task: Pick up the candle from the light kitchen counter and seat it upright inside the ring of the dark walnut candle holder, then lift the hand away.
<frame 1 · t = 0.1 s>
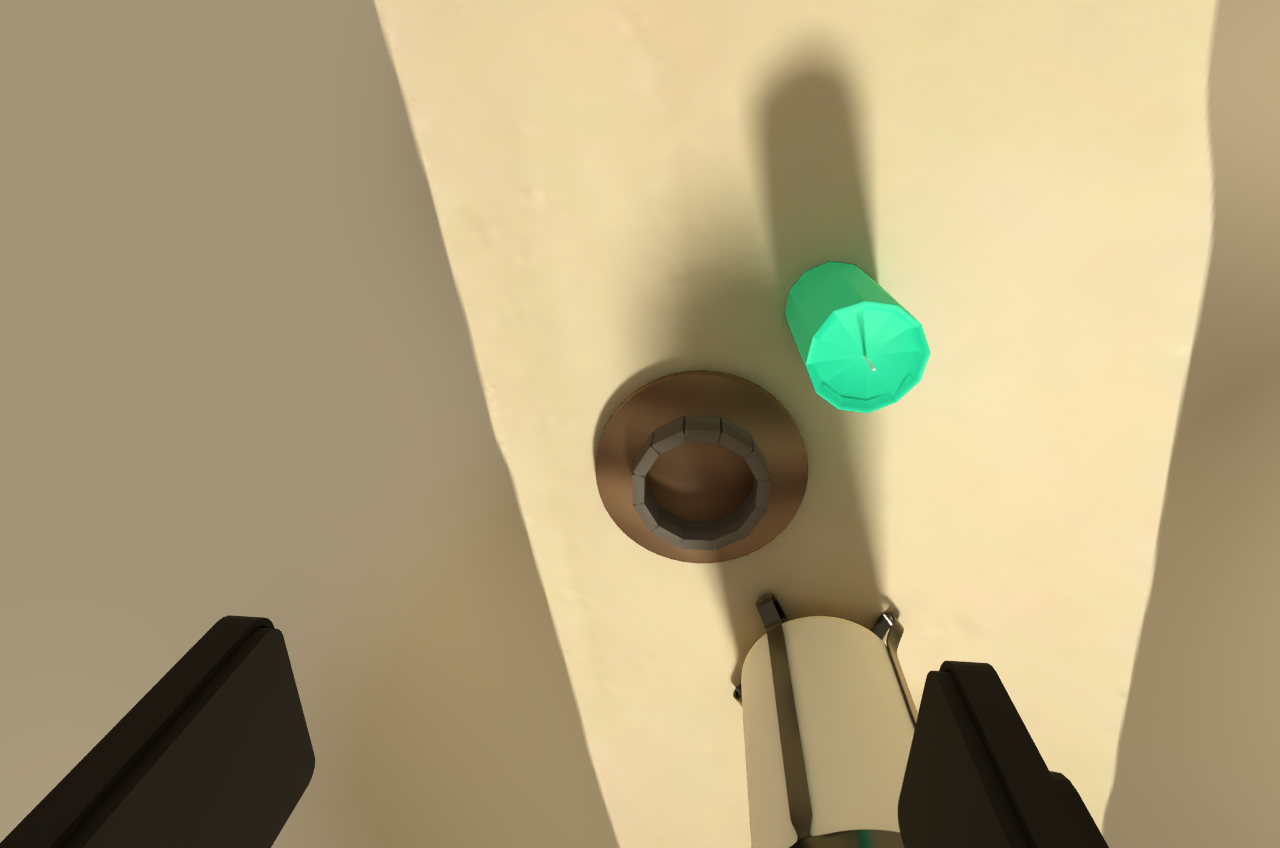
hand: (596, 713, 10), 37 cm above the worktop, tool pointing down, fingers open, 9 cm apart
candle holder: (700, 468, 49), on the worktop
candle: (831, 307, 44), on the worktop
coffee press: (814, 666, 56), on the worktop
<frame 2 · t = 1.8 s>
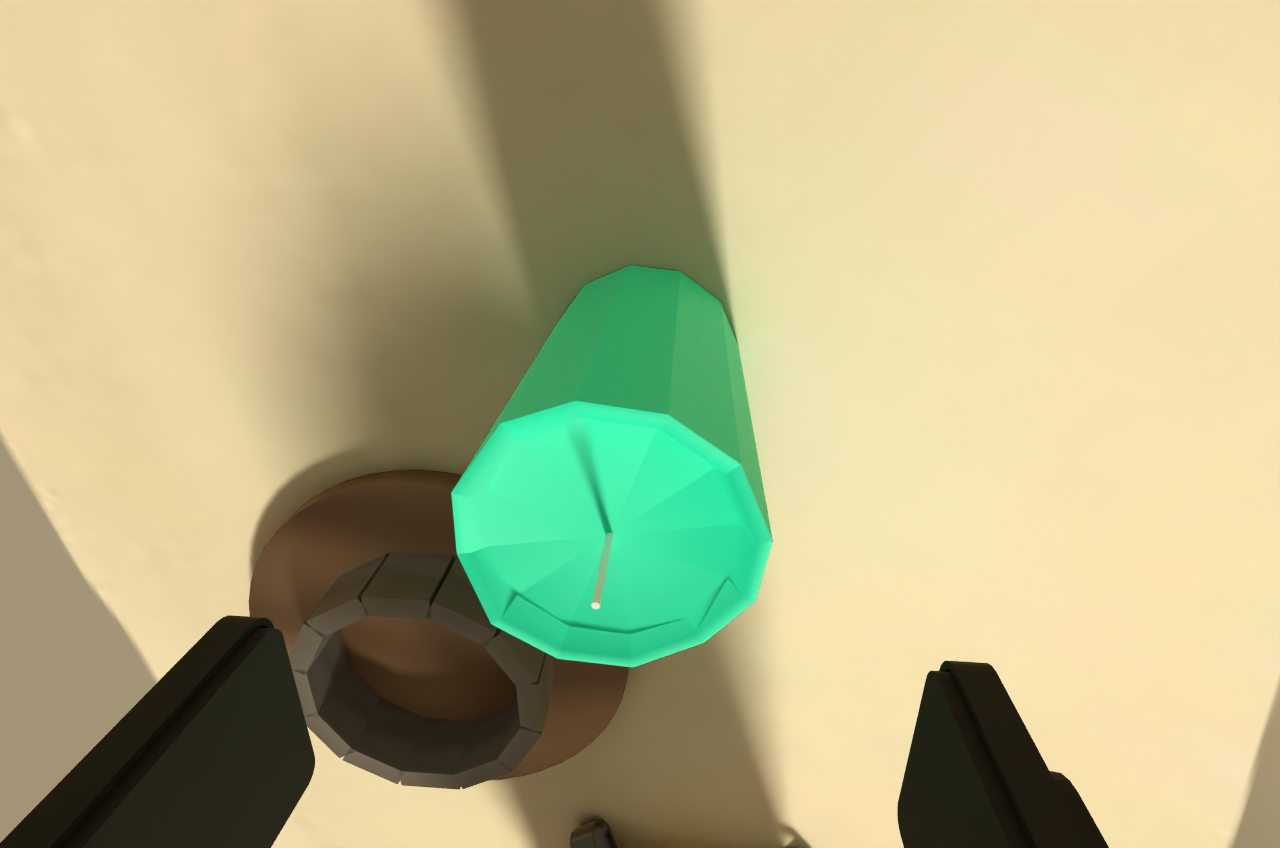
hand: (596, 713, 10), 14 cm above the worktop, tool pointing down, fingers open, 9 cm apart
candle holder: (446, 632, 28), on the worktop
candle: (645, 355, 22), on the worktop
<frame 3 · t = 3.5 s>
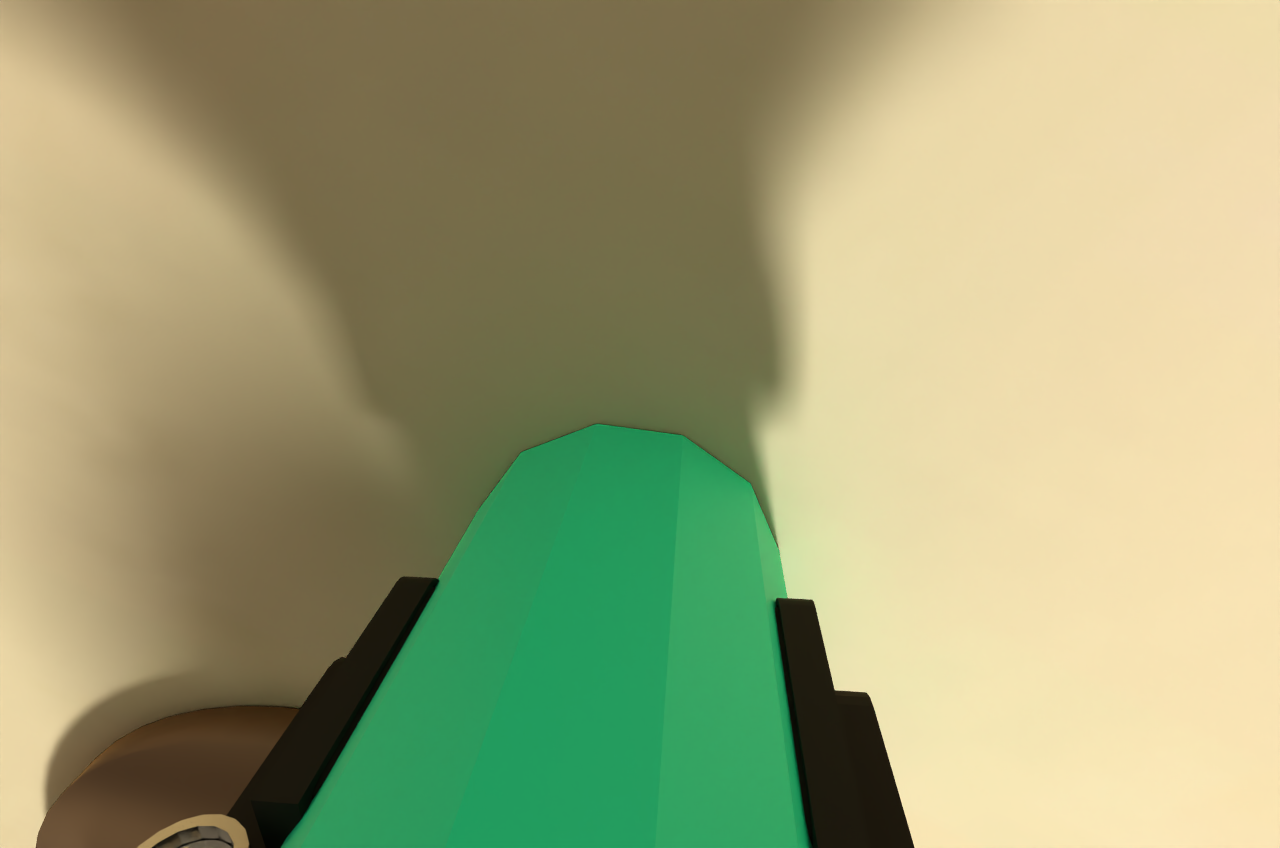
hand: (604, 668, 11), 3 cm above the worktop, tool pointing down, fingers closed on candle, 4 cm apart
candle: (624, 557, 13), on the worktop, touching gripper
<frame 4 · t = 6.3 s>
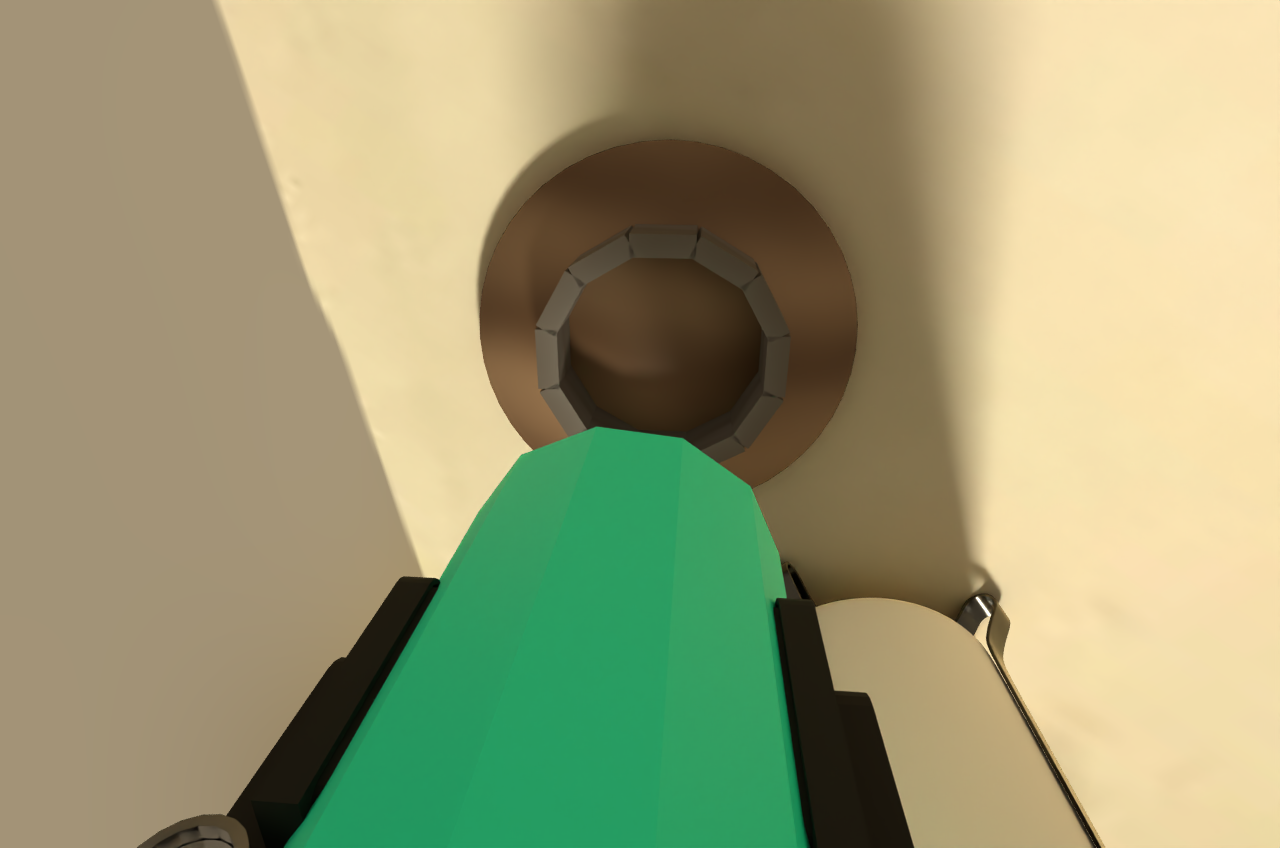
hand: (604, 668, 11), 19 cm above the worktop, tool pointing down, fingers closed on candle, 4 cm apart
candle holder: (665, 336, 28), on the worktop
candle: (624, 559, 13), point 16 cm above the worktop, touching gripper
coffee press: (854, 682, 35), on the worktop
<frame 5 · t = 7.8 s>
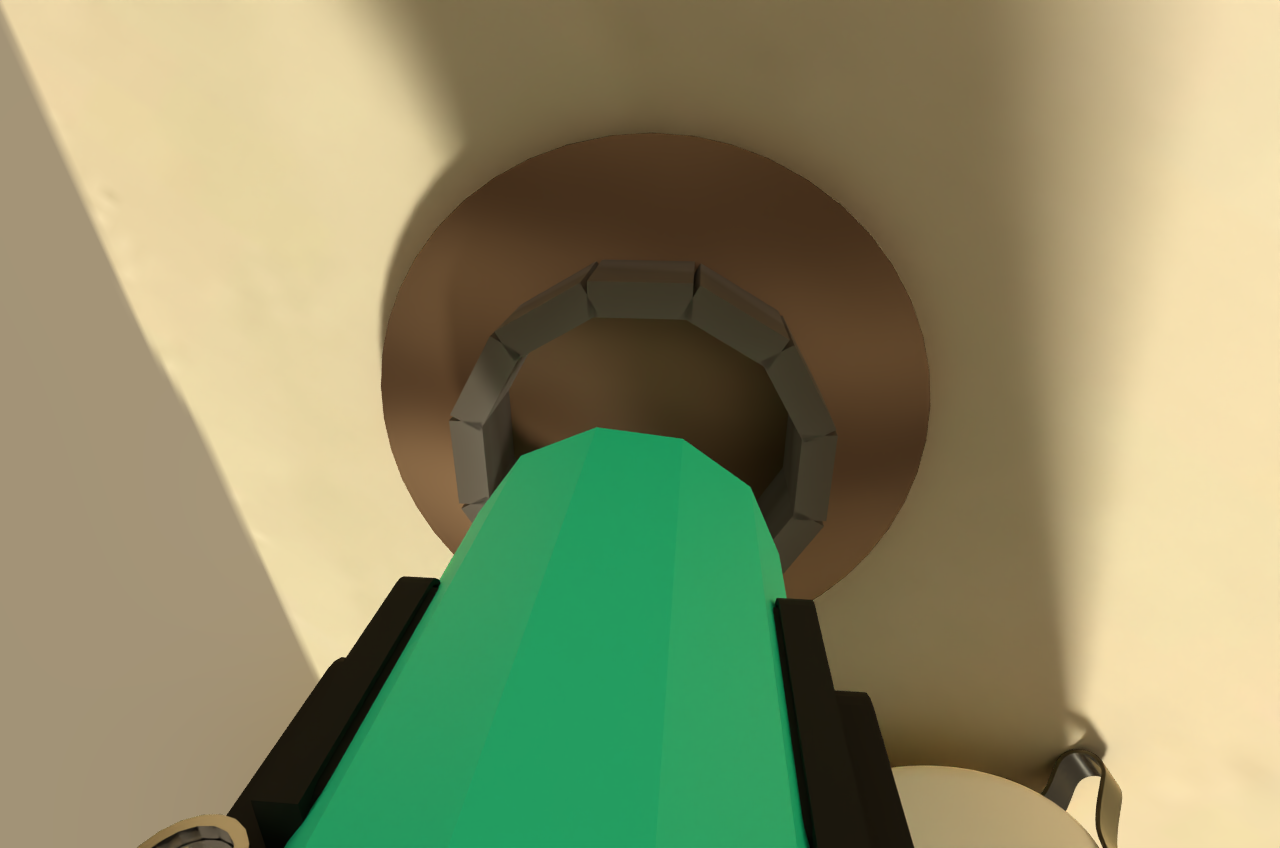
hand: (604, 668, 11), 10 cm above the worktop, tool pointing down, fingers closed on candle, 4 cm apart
candle holder: (649, 414, 20), on the worktop
candle: (624, 560, 13), point 7 cm above the worktop, touching gripper
coffee press: (901, 846, 26), on the worktop
when the fingers open (5 cm above the worktop, at t = 9.1 s): candle drops 1 cm, resting on candle holder.
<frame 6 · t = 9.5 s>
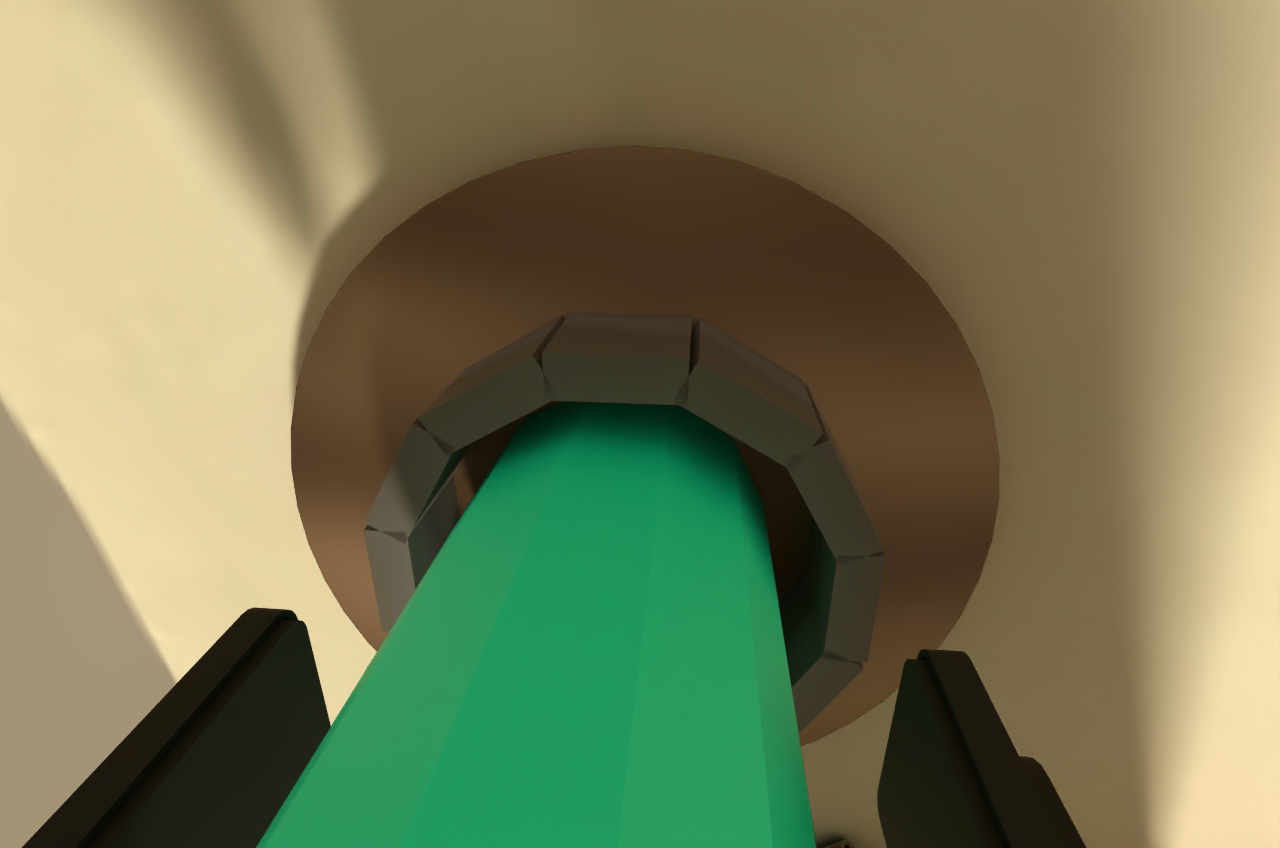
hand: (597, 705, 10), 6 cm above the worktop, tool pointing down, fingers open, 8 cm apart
candle holder: (635, 500, 16), on the worktop
candle: (623, 513, 15), point 1 cm above the worktop, touching candle holder
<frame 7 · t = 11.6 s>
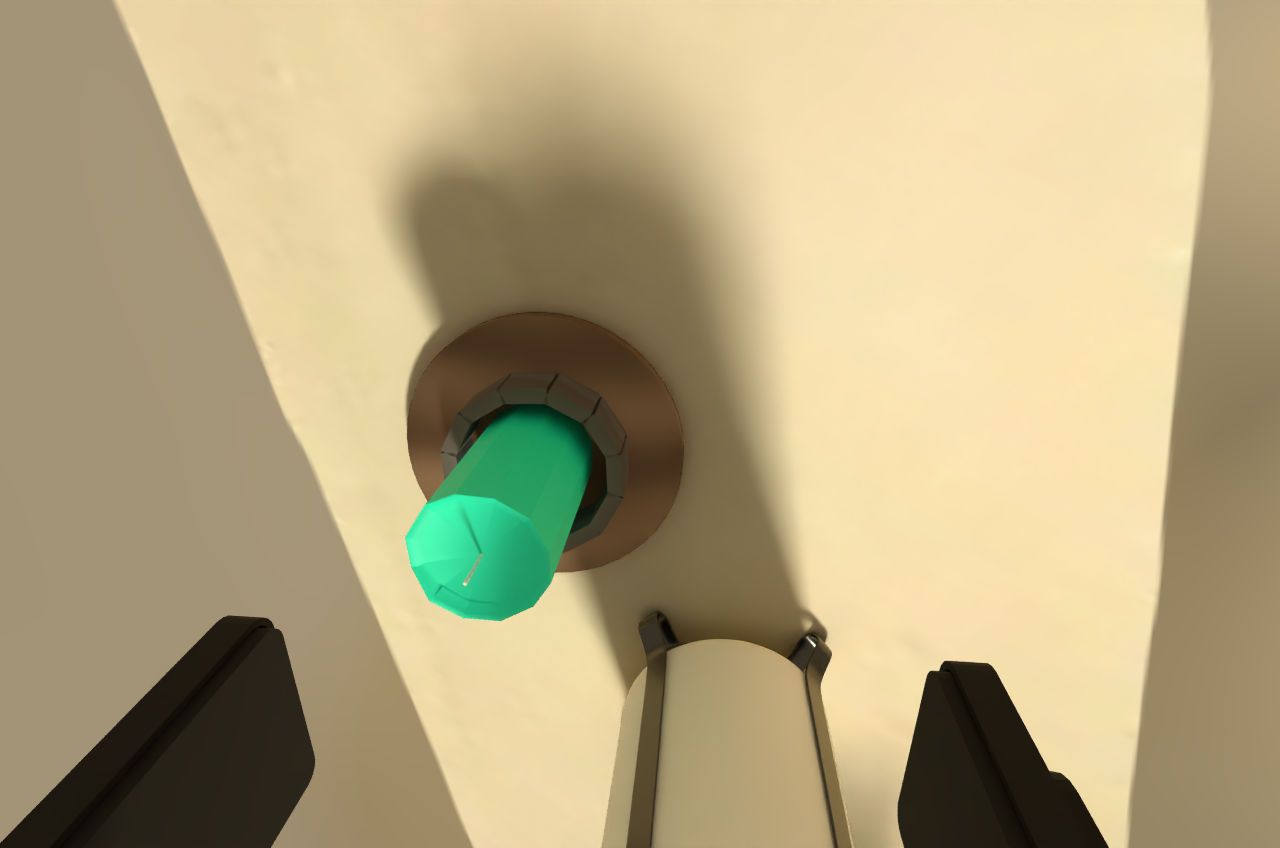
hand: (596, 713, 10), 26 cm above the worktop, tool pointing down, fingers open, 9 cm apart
candle holder: (547, 446, 37), on the worktop
candle: (540, 450, 37), point 1 cm above the worktop, touching candle holder
coffee press: (725, 705, 43), on the worktop
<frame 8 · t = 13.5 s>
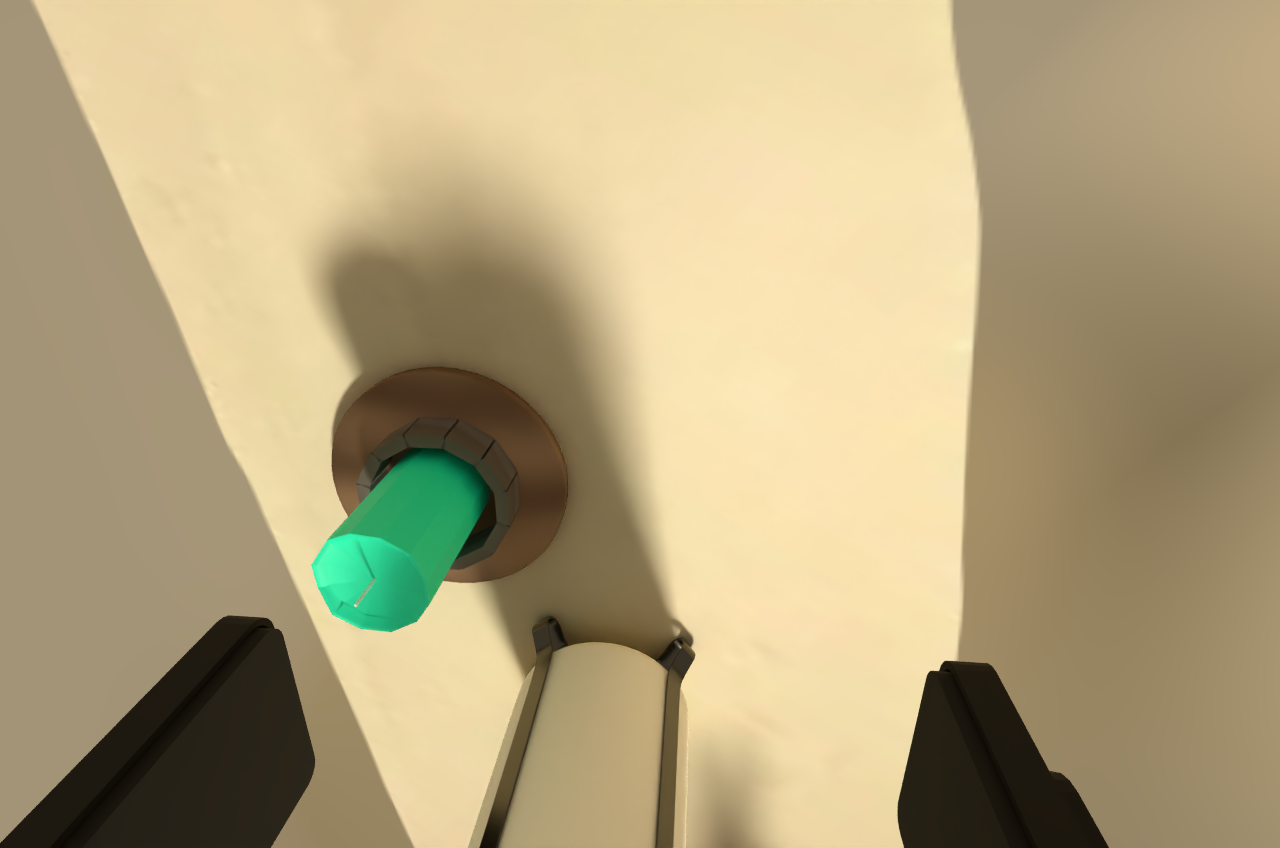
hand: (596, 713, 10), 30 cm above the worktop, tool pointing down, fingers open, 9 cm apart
candle holder: (453, 477, 44), on the worktop
candle: (445, 481, 43), point 1 cm above the worktop, touching candle holder
coffee press: (610, 696, 51), on the worktop
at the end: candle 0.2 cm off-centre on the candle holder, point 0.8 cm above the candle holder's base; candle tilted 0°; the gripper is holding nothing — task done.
